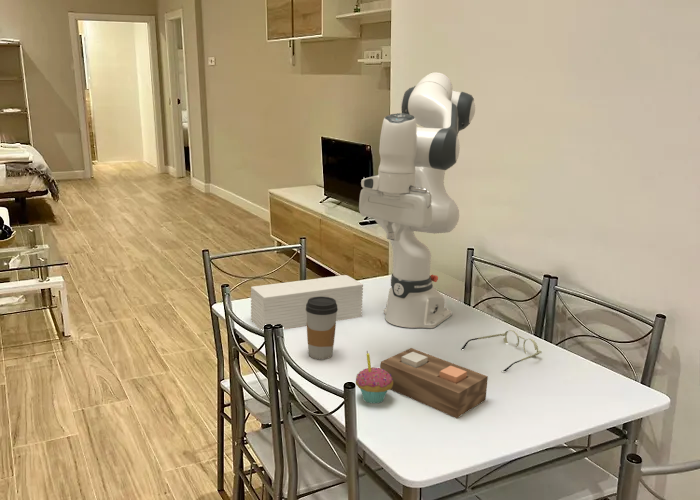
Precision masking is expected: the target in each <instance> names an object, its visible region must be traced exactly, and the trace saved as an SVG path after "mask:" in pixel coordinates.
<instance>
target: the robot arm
mask: <svg viewBox="0 0 700 500" xmlns="http://www.w3.org/2000/svg"><path fill="white" fill-rule="evenodd" d="M400 109H401V112H399V113H392V114H388V115H386V116H385V117H383V120H382V124H381V131H380V136H379V148H378V151H379V152H378V153H379V157H380V162H379V166H378V168H377V169H378V172H377V173H378V174H377V175H376V174H375V175H372V176H369V177H366V178H363V179H361V182H360V185H361V187H362V189H361V190H360V193H359V200H358V201H359V202H358V210H359V214H360V215H361V216H362V217H365V218H371V219H374V221H375V222H376V224H377V225H379V226H380V227H381V228H382V229H383V231H384V232H385V234H386V239H387V240H389V241H390V243H391V247H392V256H393V257H392V258H393V260H392V262H393V264H392V265H393V268H392V269H393V270H392V274H391V275H390V276H391V277H390V286H391V287H390V288H389V290H388V294H387V302H386V308H384V310H383V313H384V315H385V318H384V319H385V321H386V322H387V323H389V324H391V325H394V326H397V327H403V328H409V329H411V328H412V329H414V328H417V329H418V328H421V329H422V328H424V329H435V328H436V327H438V326H439V325H440V324H441V323H443V322H444V321H446V320H447V319H448V318H450V317H451V316H452V314H453V313H452V310H450V309H448V308H446V307H445V305H446V304H445V303H446V302H445V298H444V297H445V296H444V295H443V294H442V293H441V292H440V291H438V290H437V289H435V287H434V286H433V283H437V282H438V279H439V277H438V275H434V274H431V262H432V252H431V251H430V249H429V247H428V246H426V244H424V243H423V242H421V241H420V240H419V239H418V238H417V236H416V235H415V233H414V232H418V233H419V232H421V233H426V234H434V235H435V234H446V233H450V232H452V231H454V230H455V228H456V226H457V225H458V222H459V219H460V210H459V207H458V204H457V202H456V201H455V200H454V199H452V198H451V196H449V194H448V193H447V191H446V187H445V181H444V180H445V174H446V171H447V170H449V169H450V168H452V167H453V166H454V165H455V164H456V163H457V161H458V159H459V155H460V147H461V146H460V140H459V137H458V136H459V135H458V134H459V133H460V131H463V130H465V129H466V128H467V127H468V126H469V125H470V124H471V121H472V120H473V119H474V117H475V113H476V105H475V99H474V97H473V95H472V94H470V93H467V92H465V91H461V92H460V91H457V90H453V84H452V81H451V79H450V78H449V77H448V76H447V75H446V74H444V73H442V72H436V71H435V72H434V71H433V72H431V73H428V74H426V75H425V76H423V77H422V78H421V79H420V80H419V81H418V82H417V84H416V85H414V86H412V87H409V88H408V89H406V90H405V91H404V94H403V96H402V99H401V101H400ZM417 125H419V127H418V126H417Z"/></svg>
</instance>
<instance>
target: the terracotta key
mask: <svg viewBox="0 0 700 500" xmlns="http://www.w3.org/2000/svg"><path fill="white" fill-rule="evenodd" d="M439 377H440V378H443V379H445V380H448V381H450V382H453V383H455V384H457V383H459V382H460V381H462V380H464V379H466V377H467V371H464V370H462V369H459V368H456V367H453V366H449V367H447V368H445V369H443V370H441V371H440V376H439Z"/></svg>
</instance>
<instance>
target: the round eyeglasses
mask: <svg viewBox="0 0 700 500" xmlns="http://www.w3.org/2000/svg"><path fill="white" fill-rule="evenodd" d="M509 332H511V333H512V332H513V333H514V334H515V336H516V338H517V343H516V344H515V345H516V346H515V347H516V348H517V347H519V344H520V339H523V343H522V344H523V345H522V346H523V347H522V348H523V351H524V353H525V354H526V352H527V350H526V345H525V344H526V341H528V340H530V342H532V344H533V347H534V351H535V350H536V352H535V353H533V354H530V355H528V356H526V357H523V358H521V359H519V360H516V361H515V362H513V363H511V364H509V366H507V367H506V368H505V369H503V370H502V371H506V372H507V371H508V370H509V369H510V368H511V367H512V366H514V365H516V364H517V363H519V362H523V361H526V360H527V359H531V358H536V356H538V355H541V354H542V351H541V350H539V347H538V344H537V342H536V341H535V340H534V339H533V338H526V339H525V338H524V337H523V336H520V335H518V333H517V332H516V330H513V329H510V330H506V331H505V332H504V333H497V334H491V335H485V336H480V337H475V338H470V339H468V340H467V341H466V342H465V344H463V346H462V347H461V348H460V351H463V350H462V349H464V350H465V349H466V347H467V346H468V343H469V342H471V341H475V340H476V341H477V340H483V339H489V338H495V337H500V336H502V337H503V342H504V344H505V343H509V342H508V337H507V335H508V333H509Z"/></svg>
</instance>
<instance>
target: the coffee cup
mask: <svg viewBox="0 0 700 500" xmlns="http://www.w3.org/2000/svg"><path fill="white" fill-rule="evenodd" d="M337 310H338V309H337V304H336V301H335V300H334V299H333V298H330V297H313V298H310V299H309V300H308V303H307V304H306V314H307V326H306V334H307V335H306V336H307V337H306V339H307V349H308V350H307V351H308V355H309V357H310V358H312V359H314V360H327V359H329V358H331V357H332V355H333V351H334V345H335V335H336V326H337V321H336V314H337Z"/></svg>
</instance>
